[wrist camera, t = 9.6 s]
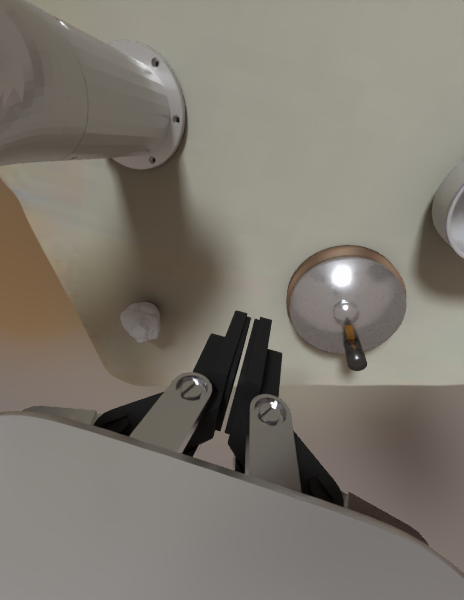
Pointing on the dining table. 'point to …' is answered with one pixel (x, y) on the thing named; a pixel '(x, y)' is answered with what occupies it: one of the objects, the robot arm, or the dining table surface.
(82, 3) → the dining table surface
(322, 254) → the plinth
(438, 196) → the teacup
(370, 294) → the handwheel
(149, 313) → the grey lumpy ball
